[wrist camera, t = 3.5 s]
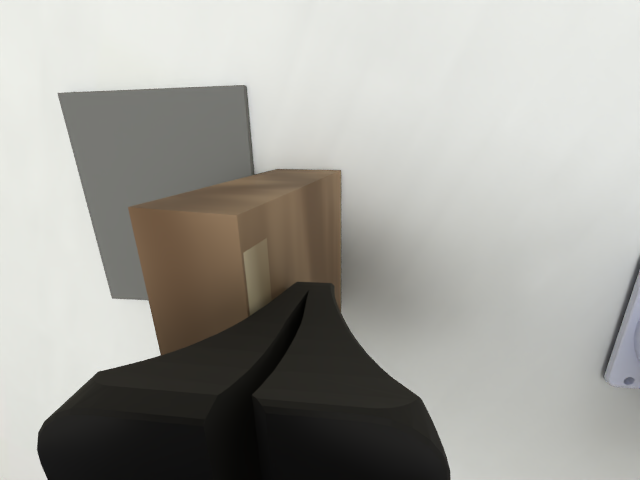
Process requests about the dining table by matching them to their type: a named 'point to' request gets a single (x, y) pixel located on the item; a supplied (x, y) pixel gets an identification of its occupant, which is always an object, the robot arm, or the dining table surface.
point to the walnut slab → (236, 249)
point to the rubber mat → (151, 158)
